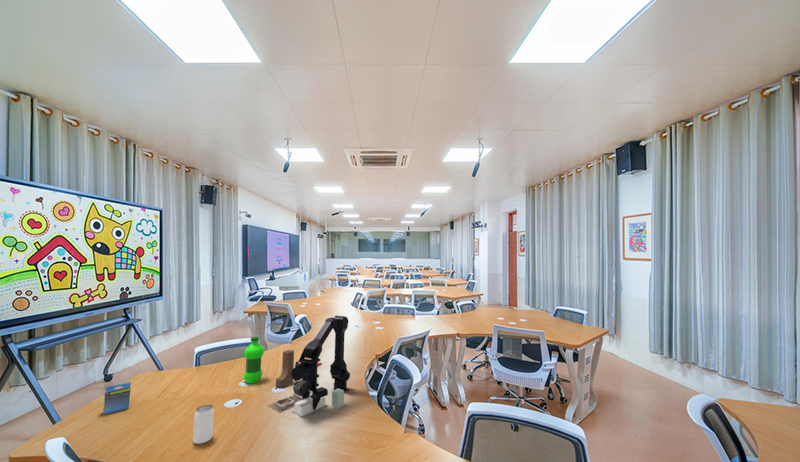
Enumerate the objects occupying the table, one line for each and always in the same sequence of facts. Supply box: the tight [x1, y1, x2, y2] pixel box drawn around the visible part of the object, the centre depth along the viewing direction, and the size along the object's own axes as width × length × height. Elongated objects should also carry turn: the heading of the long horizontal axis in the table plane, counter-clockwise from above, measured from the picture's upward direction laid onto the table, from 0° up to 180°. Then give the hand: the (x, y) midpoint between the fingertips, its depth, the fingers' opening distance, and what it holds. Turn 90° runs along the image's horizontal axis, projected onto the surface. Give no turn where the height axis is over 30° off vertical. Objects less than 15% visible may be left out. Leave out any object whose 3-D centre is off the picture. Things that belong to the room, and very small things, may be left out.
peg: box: [331, 388, 345, 410], centre depth 148 cm, size 4×4×8 cm
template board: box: [291, 404, 328, 419], centre depth 144 cm, size 14×9×3 cm, turn 142°
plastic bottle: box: [243, 336, 265, 385], centre depth 178 cm, size 10×10×25 cm
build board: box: [267, 391, 312, 414], centre depth 152 cm, size 22×11×2 cm, turn 142°
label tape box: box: [102, 381, 132, 415], centre depth 144 cm, size 9×4×12 cm, turn 135°
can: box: [192, 404, 215, 445], centre depth 122 cm, size 6×6×12 cm
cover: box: [293, 396, 326, 417], centre depth 144 cm, size 13×6×4 cm, turn 142°
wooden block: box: [275, 349, 295, 389], centre depth 174 cm, size 9×4×18 cm, turn 157°
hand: (310, 407), depth 144 cm, fingers open, 6 cm apart
